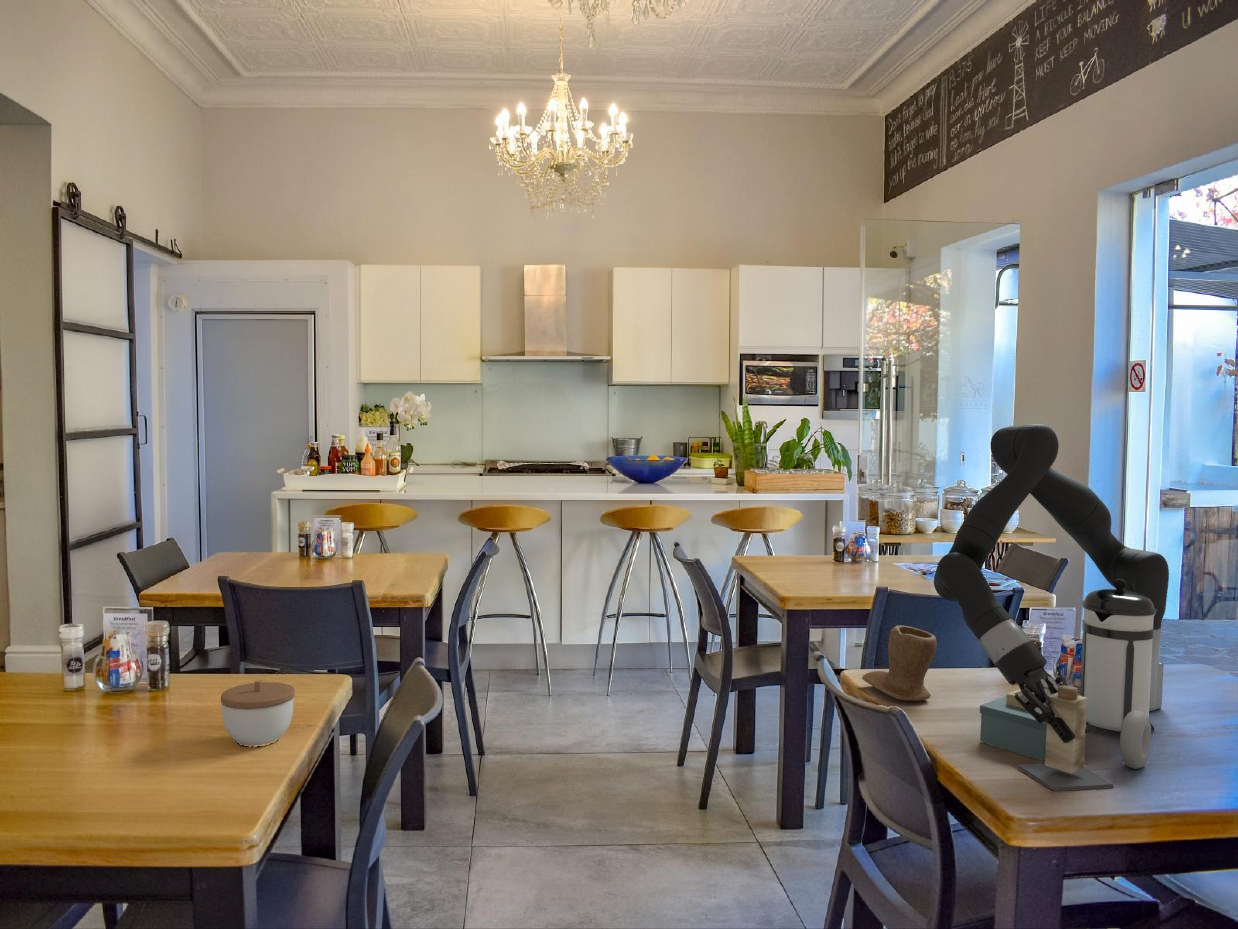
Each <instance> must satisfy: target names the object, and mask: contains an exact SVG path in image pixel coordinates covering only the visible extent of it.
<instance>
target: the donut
mask: <svg viewBox="0 0 1238 929" xmlns="http://www.w3.org/2000/svg"><path fill="white" fill-rule="evenodd" d="M1150 722H1151V721H1150V718H1149V719H1148V717H1147V716H1146V715H1145V714H1144V713H1143V712H1141V711H1132V712H1129V713H1128V714H1127V715H1126V717H1125V718H1124V721H1123V724H1122V729H1121V734H1120V736H1119V738H1120V739H1119V753H1120V757H1121V759H1122V762H1123V763H1124V764H1125V765H1126V766H1127V767H1128V768H1131V769H1133V770H1136V769H1139V768H1142V767H1144V765H1145V764H1146V762H1148V757H1149V754H1150V751H1151V750H1150V749H1151V741H1152V733H1151V725H1150Z"/></svg>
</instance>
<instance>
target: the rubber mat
mask: <svg viewBox="0 0 1238 929" xmlns="http://www.w3.org/2000/svg"><path fill="white" fill-rule="evenodd" d="M1017 769H1019V770H1020V771H1021V772H1023V773H1024V774H1026V773H1027V774H1028V776H1029V777H1031V778H1032V779H1034V780H1035V781H1037V782H1039V783H1040V784H1041V785H1043V786H1044V787H1045V788H1047V789H1049V790H1050V791H1053V792H1058V791H1059V792H1061V791H1075V790H1077V791H1078V790H1079V791H1080V790H1081V791H1082V790H1093V789H1094V790H1095V789H1096V790H1097V789H1112V788H1114V783H1112V782H1111V781H1109V780H1107V779H1106V778H1104V777H1102V776H1100V775H1099V774H1097V773H1095V772H1094V771H1091V770H1090V769H1089V768H1087V767H1085V766H1084V767H1083V768H1081V769H1079V770H1077V771H1075V772H1073V773H1069V772H1065V771H1062V770H1059V769H1056V768H1052V767H1049V766H1046V765H1045V763H1031V764H1027V763H1026V764H1018V765H1017ZM1027 774H1026V775H1027Z"/></svg>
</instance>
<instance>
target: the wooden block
mask: <svg viewBox="0 0 1238 929" xmlns="http://www.w3.org/2000/svg"><path fill="white" fill-rule="evenodd" d="M1078 690H1079V689H1078V688H1077V687H1074V686H1070V685H1068V686H1058V692H1057V693H1055V694H1052V695H1051V696H1049V697H1050V698H1051V699H1052V701H1053V703H1054V704H1053V706H1054V708H1055V709H1056V710H1057V711H1058V713H1059V715H1060V717H1059V718H1062V719H1063V720H1064V722H1065V723H1066V724H1067V725H1068V727H1069V728H1070V729H1071V731H1072V732H1073V733H1074V734H1075V738H1074V739H1073V740H1071V741H1070V742H1068V743H1064V742H1063V741H1062V740H1061V738H1060V737H1059V736H1058V734H1057V733H1056V732H1055V730H1054V729H1053V728H1052V726H1051V725H1050V724H1049V725H1048V724H1047V732H1046V755H1045V760H1044V761H1045V762H1044V764H1045V765H1046V766H1049V767H1052V768H1056V769H1059V770H1062V771H1065V772H1069V773H1073V772H1075V771H1077V770H1079V769H1081V768H1083V767H1085V755H1086V754H1085V753H1086V752H1085V750H1086V734H1085V728H1086V726H1087V725H1086V711H1087V697H1082V696H1080V695H1078ZM1048 709H1049V708H1048ZM1049 710H1050V709H1049Z"/></svg>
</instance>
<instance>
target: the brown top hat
mask: <svg viewBox="0 0 1238 929" xmlns="http://www.w3.org/2000/svg"><path fill="white" fill-rule="evenodd" d="M888 637H889V638H888V646H887V653H888V654H887V656H888V664H889V665H888V666H889V668H888V669H889V670H888V671H886V670H885V671H884V670H874V671H869V672H867V673H864V674H863V675H862V677H861V679H862V681H865V683H867V684H869V685H870V686H871V687H874V689H877V690H879V691H880V692H882V693H883V694H886V695H887V696H890V697H892V698H894V699H897V700H901V701H907V702H918V701H919V702H920V701H925V700H927V699H930V698H931V697H932V696H931V693H930V692H929V690H928V689H927V688H926V686H925V684H924V683H925V682H924V680H925V677H926V675H927V672H928V670H929V668H930V665H931V664H932V662H933V659H934V657H935V654H936V651H937V648H938V646H937V644H938V642H937V638H936V636H935V635H934V634H932V633H930V632H928V631H925V630H922V629H919V628H915V627H913V626H907V625H900V624H899V625H895V626H894V627H893V628H892V629H891V630H890V633H889V636H888Z"/></svg>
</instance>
